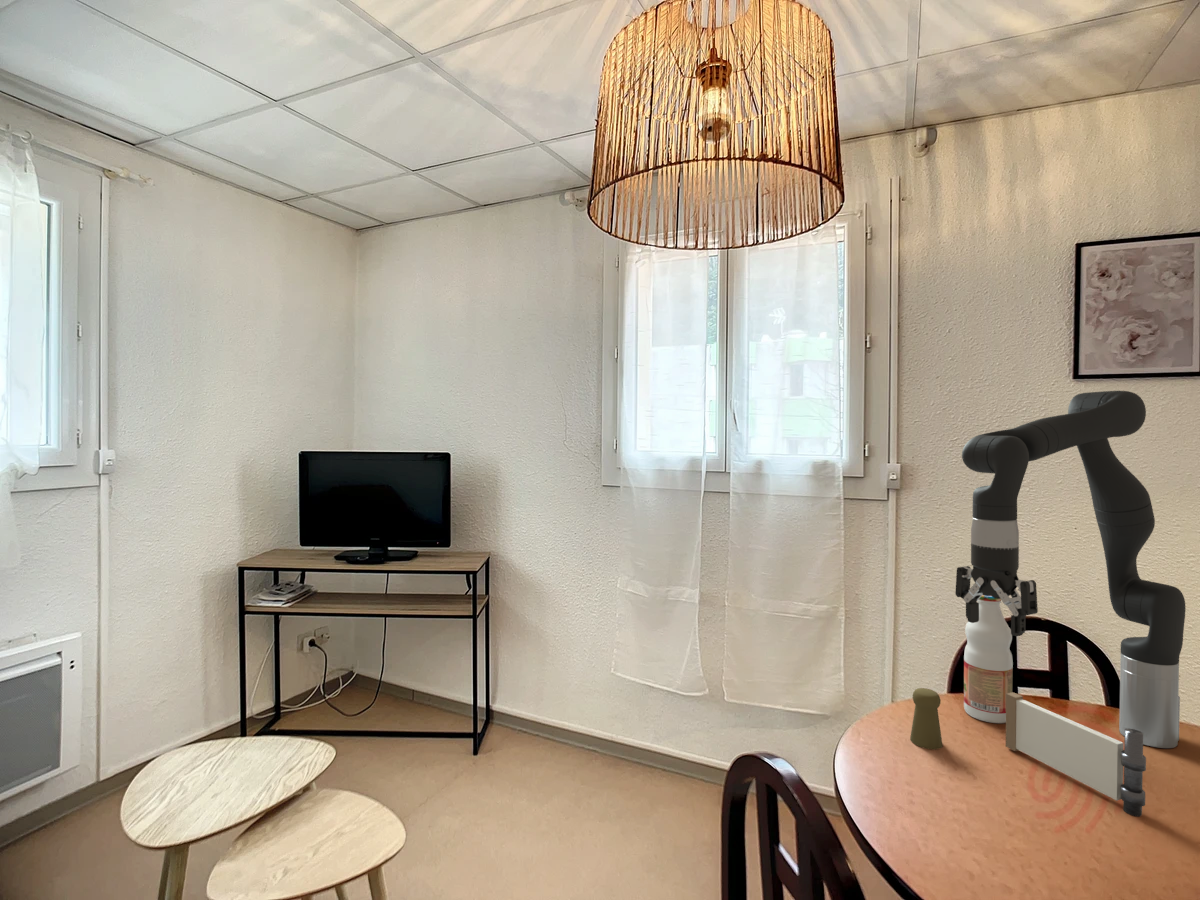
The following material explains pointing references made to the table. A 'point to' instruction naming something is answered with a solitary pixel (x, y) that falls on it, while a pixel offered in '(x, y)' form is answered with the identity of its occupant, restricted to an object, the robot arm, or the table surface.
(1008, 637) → the fruit juice
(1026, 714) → the gate
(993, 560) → the robot arm
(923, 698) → the olive green pawn
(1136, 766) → the gate post
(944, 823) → the table surface
